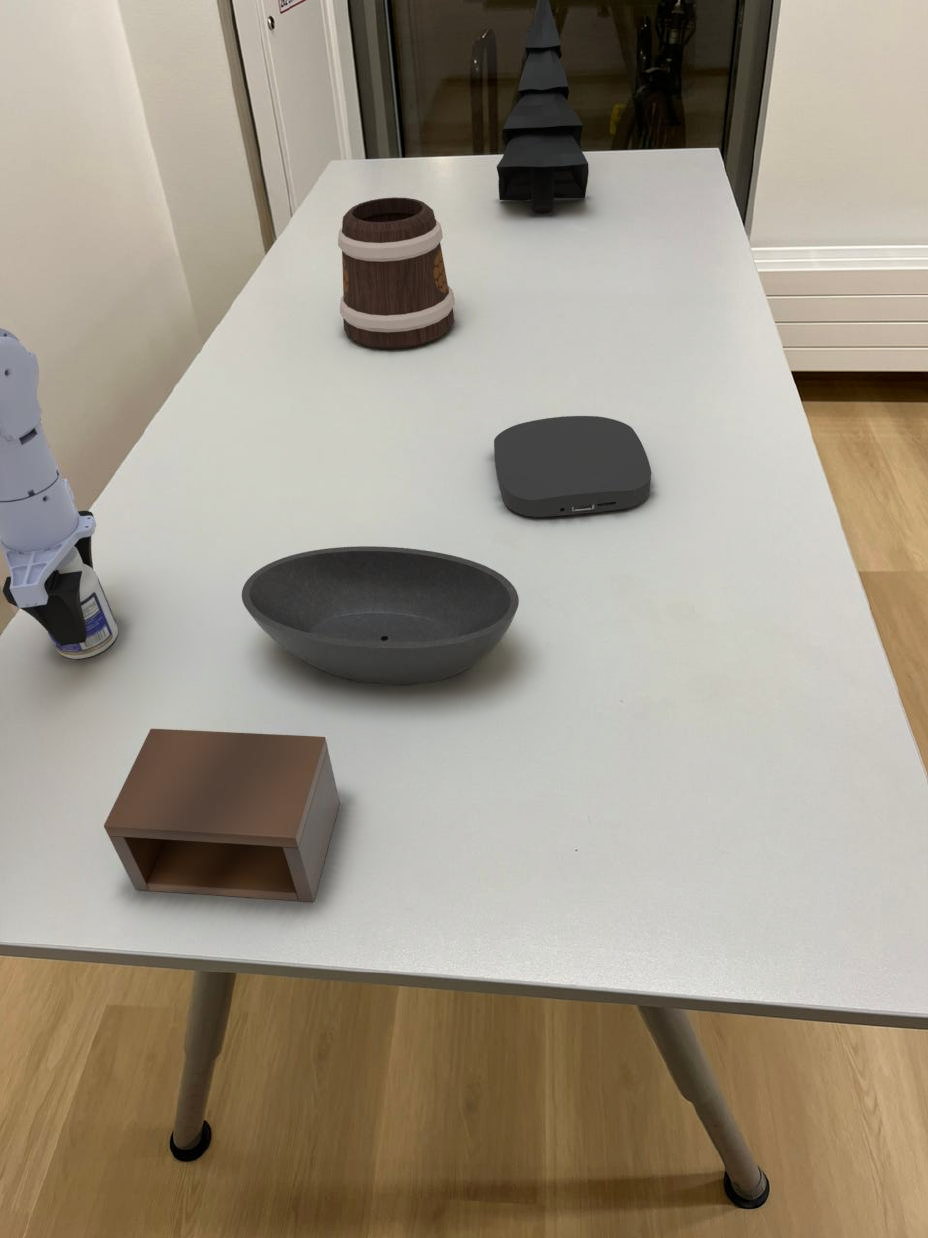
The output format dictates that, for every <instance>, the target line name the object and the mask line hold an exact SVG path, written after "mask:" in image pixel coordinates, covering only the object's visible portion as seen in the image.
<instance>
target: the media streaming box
mask: <svg viewBox="0 0 928 1238" xmlns="http://www.w3.org/2000/svg"><path fill="white" fill-rule="evenodd" d="M493 450H494V453H493V454H494V466H495V471H496V477H497V483H498V486H499V489H500V493H501V496H502V500H503V502H504V505H505V506H506V507H507V508H508V509H510V510H511V511H513V512H514V513H517V514H519V515H522V516H527V517H533V518H544V517H558V516H559V517H560V516H572V515H583V514H592V513H600V512H608V511H616V510H623V509H629V508H632V507H636V506H638V505H639V504H641V503H643V502H644V501H645V500H646V499H647V498H648V497H649V495H650V491H651V482H652V468H651V466H650V461H649V458H648V456H647V452H646V449H645V447H644V446H643V443H642V441H641V439H640V437H639V436H638V434H637V433H636V431H635V430H634V428H633V427H632V426H630V425H629V424H627V423H625V422H622V421H620V420H617V419H613V418H609V417H604V416H597V415H568V416H567V415H566V416H565V415H564V416H554V417H548V418H547V417H546V418H540V419H535V420H530V421H525V422H521V423H517V424H515V425H512V426H510V427H508V428H506V429H504V430H502V431H501V432H500V433H498V434H497V435H496V436H495V438H494V439H493Z"/></svg>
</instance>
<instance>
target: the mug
mask: <svg viewBox="0 0 928 1238" xmlns="http://www.w3.org/2000/svg"><path fill="white" fill-rule="evenodd" d="M341 222H342V224H341V228H340V229H339V230H338V236H337V237H338V238H337V246H338V248H339V249H340V250H341V262H342V264H341V265H342V293H343V295H342V296H341V297H340V303H339V314H340V315H341V317H342V318H343V319H342V320H343V331H344V332H345V333H346V335H347V337H349V338H350V339H351V340H353V341H354V342H357V343H358V344H360V345H362V346H366V347H369V348H372V349H380V350H381V349H382V350H398V349H399V350H401V349H409V348H410V349H411V348H414V347H420V346H423V345H426V344H428V343H431V342H434V341H437V340H438V339H439V338H441V337H442V336H443V335H445V334H447V332H448V331H449V330H450V329H451V328H452V326H453V325H454V323H455V316H454V315H455V313H454V306H455V305H456V302H455V295H454V292H453V289H452V288H451V287H450V286H449V284H448V278H447V273H446V267H445V262H444V255H443V250H442V249H443V248H442V244H441V241H442V240H443V236H444V235H443V230H442V225H441V222H440V221H438V220H437V219H436V215H435V212H434V209H433V208H431V206H429V205H428V204H427V203H425V202H424V201H423V200H422V201H421V200H419V199H416V198H410V197H396V196H395V197H394V196H393V197H382V198H381V197H380V198H376V199H375V198H374V199H370V200H366V201H363V202H360V203H357V204H356V205H354V206H352V207H351V208H350V209H348V211H347V212H346V213H345V214H344V215H343V216H342V221H341Z"/></svg>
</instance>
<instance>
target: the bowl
mask: <svg viewBox="0 0 928 1238" xmlns="http://www.w3.org/2000/svg"><path fill="white" fill-rule="evenodd" d="M519 599H520V597H519V594H518V591H517V589H516V588H515V585H513V584H512V582H511V581H510V580H509V579H508V578H507V577H506V576H504V575H503V574H501V573H499V572H498V571H497V570H494V569H492V568H491V567H488V566H487V565H484V564H482V563H479V562H476V561H475V560H474V561H473V560H471V559H467V558H463V557H460V556H456V555H452V554H448V553H442V552H437V551H432V550H425V549H417V548H409V547H395V546H378V545H377V546H374V545H373V546H368V545H366V546H365V545H364V546H363V545H362V546H361V545H360V546H359V545H358V546H339V547H329V548H320V549H314V550H308V551H303V552H298V553H295V554H291V555H288V556H285V557H284V556H283V557H281V558H278V559H276V560H274V561H272V562H269V563H267V564H266V565H264V566H262V567H261V568H259V569H258V570H256V571H255V572H254V573H252V574H251V575H250V576H249V577H248V579H246V581H245V583H244V584H243V586H242V589H241V601H242V603H243V606H244V607H245V609H246V610H247V612H248V614H249V615H250V616H251V617H252V618H253V620H254V621H255V622H256V623H257V625H258V626H259V627H260V628H261V629H262V630H263V631H264V632H265V633H266V634H267V635H268V636H269V637H270V638H271V639H272V640H273V641H274V642H276V643H277V644H278V645H279V646H280V647H282V648H283V649H284V650H286V651H287V652H289V653H290V654H291V655H293V656H294V657H296V658H298V659H299V660H301V661H303V662H305V663H306V664H308V665H311V666H312V667H315V668H316V669H319V670H321V671H322V672H325V673H328V674H330V675H332V676H336V677H339V678H343V679H347V680H351V681H356V682H362V683H370V684H378V685H379V684H380V685H418V684H426V683H433V682H438V681H441V680H442V681H443V680H446V679H449V678H452V677H454V676H457V675H458V674H461V673H462V672H464V671H466V670H467V669H468V670H469V669H470V668H471V667H473V666H474V665H476V664H477V663H479V662H480V661H481V660H482V659H484V658H486V656H487V655H488V654H489V653H490V652H491V651H492V650H494V648H495V647H497V645H498V644H499V643H500V642H501V640H502V639H503V638H504V636H505V634H507V632H508V630H509V628H510V627H511V624H512V622H513V621H514V618H515V615H516V613H517V611H518V608H519V604H520V600H519Z"/></svg>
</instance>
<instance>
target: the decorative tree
mask: <svg viewBox="0 0 928 1238" xmlns="http://www.w3.org/2000/svg"><path fill="white" fill-rule="evenodd" d="M561 45H562V44H561V40H560V37H559V32H558V27H557V25H556V22H555V18H554V15H553V11H552V6H551V3H550V0H537V1H536V7H535V11H534V15H533V20H532V23H531V24H530V27H529V29H528V32H527V36H526V40H525V45H524V49H525V57H524V58H525V59H524V68H523V71H522V74H521V78H520V81H519V83H518V84H519V85H518V88H517V92H516V100H515V101H516V104H515V105H514V108H513V109H512V111H511V112H510V113H509V115H508V117H507V119H506V122H505V123H504V126H503V128H502V134H501V139H502V142H503V143H504V145H505V146H504V150H503V155H502V157H501V159H500V161H499V162H498V164H496V171H497V176H498V181H497V182H498V184H497V185H498V186H497V187H498V200H499V201H514V202H525V201H531V203H530V211H531V212H532V213H535V214H548V213H551V212H553V211H554V208H555V206H554V205H555V203H554V201H555V199H557V200H558V199H586V194H587V187H588V184H589V183H588V181H589V175H590V174H589V173H590V172H589V167H590V166H589V161H588V160H587V158H586V156H585V154H584V153H583V150H582V143H581V142H582V141H581V140H582V132H583V129H584V124H583V122H582V120H581V118H580V117H579V116H578V114H577V113H576V112H575V110H574V109H573V107H572V106H571V104H570V102H569V101H568V98H569V94H570V89H569V84H568V83H569V82H568V78H567V73H566V72H565V68H564V67H563V64H562V62H561V58H562V56H563V53H562V49H561Z"/></svg>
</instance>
